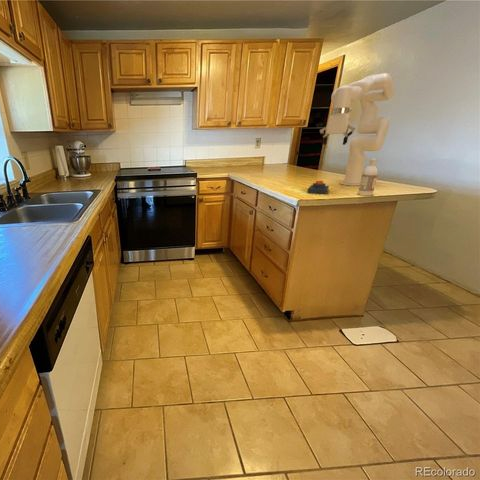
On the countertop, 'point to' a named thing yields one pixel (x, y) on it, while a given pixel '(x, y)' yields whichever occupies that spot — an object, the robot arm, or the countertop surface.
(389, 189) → the countertop surface
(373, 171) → the bath foam
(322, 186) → the dispenser
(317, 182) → the nozzle
